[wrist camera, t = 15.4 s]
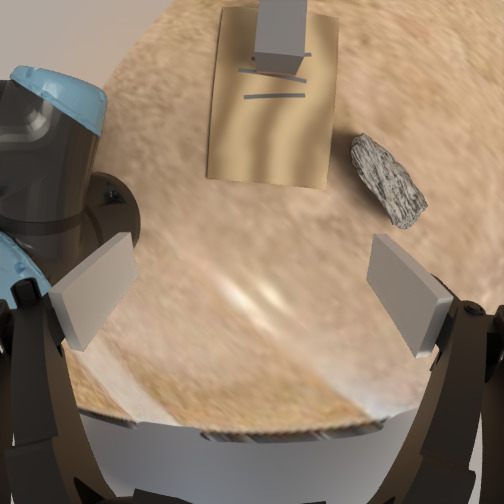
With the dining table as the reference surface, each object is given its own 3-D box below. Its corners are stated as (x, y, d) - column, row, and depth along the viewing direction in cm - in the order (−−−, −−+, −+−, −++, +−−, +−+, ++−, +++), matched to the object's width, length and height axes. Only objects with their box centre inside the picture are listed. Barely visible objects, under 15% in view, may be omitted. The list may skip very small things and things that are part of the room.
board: (208, 177, 38) (207, 178, 37) (224, 9, 28) (223, 6, 27) (323, 188, 37) (325, 190, 36) (337, 20, 27) (338, 18, 26)
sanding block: (295, 76, 31) (304, 57, 22) (256, 72, 31) (254, 52, 22) (299, 16, 27) (307, -14, 19) (262, 12, 27) (261, -19, 19)
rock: (325, 136, 34) (351, 151, 26) (372, 109, 32) (410, 116, 23) (371, 222, 41) (399, 256, 33) (411, 197, 39) (446, 225, 30)
